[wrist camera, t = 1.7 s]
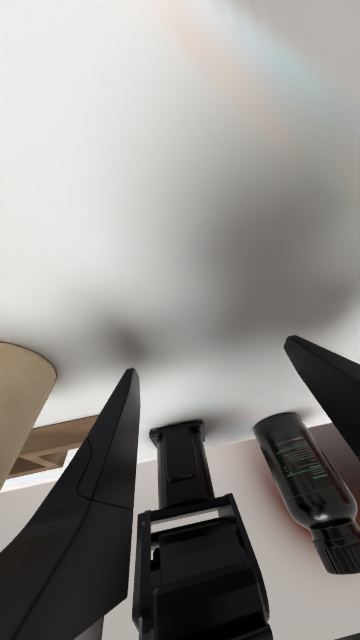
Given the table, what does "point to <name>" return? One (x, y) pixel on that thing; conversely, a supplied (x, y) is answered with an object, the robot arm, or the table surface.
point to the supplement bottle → (312, 490)
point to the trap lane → (50, 446)
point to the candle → (20, 399)
